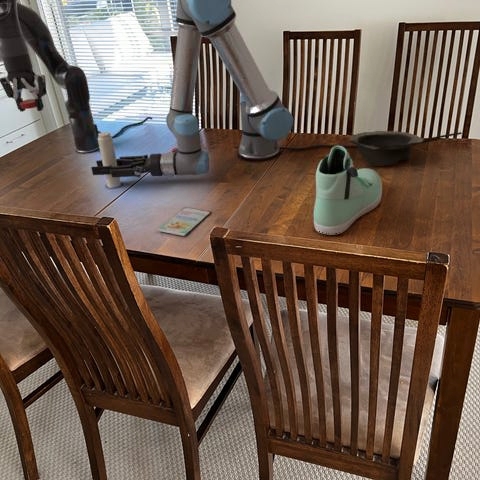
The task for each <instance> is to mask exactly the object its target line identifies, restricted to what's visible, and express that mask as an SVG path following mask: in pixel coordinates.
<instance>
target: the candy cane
mask: <svg viewBox="0 0 480 480" xmlns="http://www.w3.org/2000/svg"><path fill="white" fill-rule="evenodd" d="M176 152H177V153H179V152H178V146H176V147H174V148H172V149H170V153H176Z"/></svg>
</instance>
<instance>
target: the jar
mask: <svg viewBox="0 0 480 480" xmlns="http://www.w3.org/2000/svg"><path fill="white" fill-rule="evenodd" d="M100 132H101V133H99V134H98V143H99V153H100V157H101V160H102V163H103V166H110V165H112V167H117V166H118V165H117V160H116V159H117V156H116V149H115V143H114V141H113V139H114V138H112V137H113V135H111V133H110V132H109V131H100ZM104 176H105V181H106V186H107V188H109V189H115V188H119V187H121V185H122V182H121V177H112V175H111V174H109V175H104Z"/></svg>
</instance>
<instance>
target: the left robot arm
mask: <svg viewBox="0 0 480 480" xmlns="http://www.w3.org/2000/svg"><path fill="white" fill-rule="evenodd" d="M0 9H1V11H2V12H0V56H1V59H2V62H3V66H4V69H5V72H7V74H6V76H2V77H0V85H1V86H2V88H3V90H4V93H5V94H6V96H7V98H8V99H14V101H15V104H16V107H17V109H18V111H19V112H25V111H26V109H23V108H21V106H20V102H21V101H24V99H23V97H22V92H23V89H24V90H27V91H28V92H29V94H31V95H32V96H33V99H34V100H35V104H36V107H35V108H36V110H37V112H41V111H43V110H44V102H43V98H42V97H44V96H46V95H47V82H46V81H47V80H46V75H44V74H41V75H40V74H36V73H35V72H34V69H33V63H32V60H31V56H30V53H29V48H28V46H29V47H30V48H31V50H32V51H33V52H34V54H35V55H36V56H37V57H38V58H39V60H41V62H42V63H43V64H44V67H45V68H46V69H47V70H48V72H49V74H50V75H51V77H52V78H53V80H54V82H55V83H56V85H58V86H59V88H61V89H63V90H65V91H66V97H67V100H65V102H64V106H65V110H66V114H67V115H66V116H67V118H68V122H69V126H70V130H71V133H72V137H73V142H74V147H75V148H76V149H75V150H76V152H77V153H80V154H87V153H92V152H96V151H97V150H100V148H99V143H98V134H99V133H101V132H102V131H99V129H98V125H97V123H95V121H94V116H93V113H92V108H91V104H90V102H91V101H90V100H91V94H90V89H89V84H88V80H87V79H88V78H87V75H86V73H85V72H84V70H83V69H82V68H81V67H79V66H77V65H72V64H69V63H68V62H67V61H66V60H65V59H64V57H63V56H62V55H61V54H60V52H59V50H58V49H57V46H56V44H55V41H54V38H53V35H52V33H51V31H50V29H49V27H48V26H47V25H46V23H45V22H44V20H43V19H42V17H41V16H40V14H39V13H37V11H35V10H34V9H32V8H31V7H29V6H26V5H24V4H22V3H20V2H18V1H17V0H0ZM35 81H36V82H35ZM36 83H37V84H36ZM11 84H12V85H11ZM148 120H153V117H151V116H147V117H146V118H144V119H143V120H142V121H139V122H135V123H131V124H127V125H125V126H123V127H122V128H121V129H120V130H119V131H117V132H116V134H114V135H112V139H114V138H116V137H118V136H119V135H120V134H122V133H123V131H124V130H126V129H128V128H131V127H136V126H139V125H142V124H144V123H146V122H147V121H148Z"/></svg>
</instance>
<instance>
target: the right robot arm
mask: <svg viewBox="0 0 480 480" xmlns="http://www.w3.org/2000/svg"><path fill="white" fill-rule="evenodd" d="M176 2H177V3H176V15H175V24H176V25H177V28H178V29H177V39H176V46H175V55H174V63H173V65H174V66H173V73H172V74H173V75H172V82H171V83H172V84H171V92H170V102H169V110H168V111H169V112H168V113H167V114H166V117H165V123H166V125H167V129H168V130H169V131H170V132H171V133H172V135H173V136H174V138H175V140H176V144H177V146H176V147H178V151H177V152H174V153H172V152H163V153H150V154H149V155H148V154H143V155H127V156H126V155H125V156H119V158H116V160H117V165H118V166H117V167H112V165H110V166H103V163H102V159H101V160H96V161H95V162H96V165H97V166H91V172H92V175H93V176H105V175H109V174H111V175H112V177H120V178H141V177H142V174H147V173H149V174H150V175H151V176H152V177H163V176H165V177H170V176H171V177H175V176H198V175H199V176H200V175H205V174H207V173H209V171H210V157H209V153H208V151H204V150H203V149H202V145H201V137H200V125H199V121H198V118H197V116H196V115H195V114H192V113H193V106H194V105H193V104H194V97H195V90H196V81H197V75H198V74H197V73H198V67H199V59H200V58H199V57H200V51H201V45H202V39H203V38H206V39H209V40H210V42H211V43H212V46H213V47H214V49H215V50H216V52H217V54H218V56H219V57H220V60H221V62H222V63H223V64H224V67H225V68H226V70H227V71H228V73H229V75H230V77H231V78H232V80H233V83H234V84H235V86H236V87H237V90H238V91H239V93H240V97H239V107H240V120H241V133H242V134H241V139H240V142H239V147H238V157H240V158H241V159H243V160H246V161H250V162H262V161H268V160H272V159H275V158H276V157H278V156H279V155H280V150H286V151H287V150H292V151H303V150H304V151H305V150H308V149H309V150H310V149H315V148H333V147H334V146H342V147H344V148H345V149H348V148H349V149H353V148H354V149H356V148H357V149H358V145H356V144H352V145H348V144H347V145H346V144H345V145H342V144H341V145H340V144H339V145H337V144H316V145H309V146H304V147H289V146H288V147H287V146H286V147H285V146H279V143H278V142H280V141H282V140H284V139H285V138H286V137H287V136H288V135H289V134H290V133H291V131H292V129H293V126H294V116H293V114H292V113H291V111H290V110H289V108H286V107H285V105H284V104H283V102H282V100H281V99H280V96H279V94H278V92H277V91H275V90H271V89H270V88H269V86H268V84H267V82H266V80H265V77H264V76H263V74H262V72H261V71H260V68H259V67H258V65H257V63H256V61H255V59H254V57H253V55H252V53H251V51H250V50H249V48H248V46H247V44H246V42H245V40H244V39H243V36H242V34H241V33H240V29H239V28H238V27H237V25H236V19H237V13H236V11H235V10H234V8H233V5H232V0H177V1H176ZM460 135H462V131H458V132H454V133H448V134H442V135H437V136H432V137H427V138H422V139H423V140H422V141H423V142H427V141H433V140H438V139H442V138H447V137H455V136H460ZM424 140H425V141H424ZM178 152H179V153H178Z"/></svg>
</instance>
